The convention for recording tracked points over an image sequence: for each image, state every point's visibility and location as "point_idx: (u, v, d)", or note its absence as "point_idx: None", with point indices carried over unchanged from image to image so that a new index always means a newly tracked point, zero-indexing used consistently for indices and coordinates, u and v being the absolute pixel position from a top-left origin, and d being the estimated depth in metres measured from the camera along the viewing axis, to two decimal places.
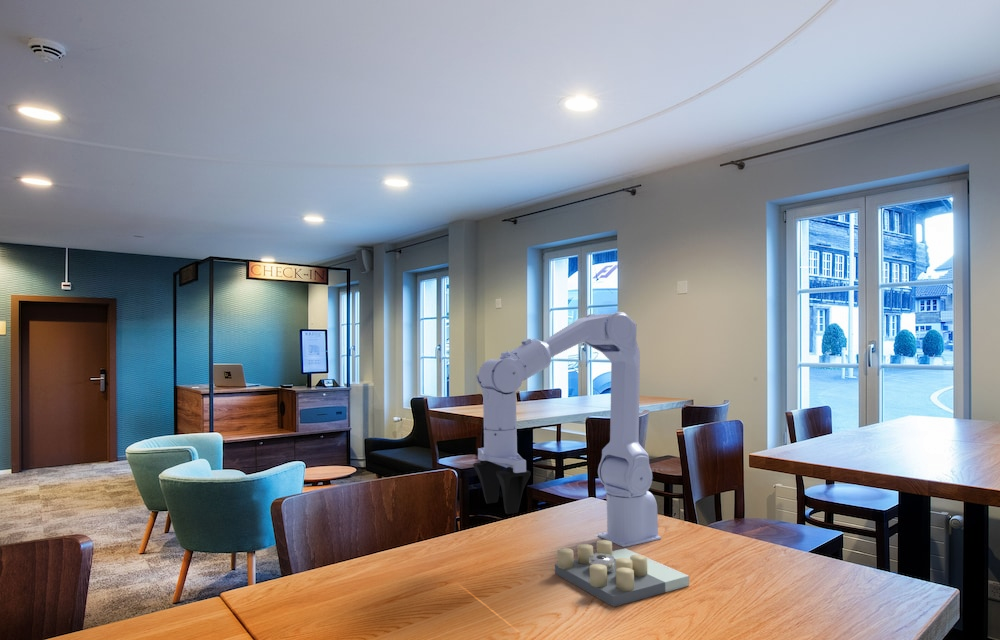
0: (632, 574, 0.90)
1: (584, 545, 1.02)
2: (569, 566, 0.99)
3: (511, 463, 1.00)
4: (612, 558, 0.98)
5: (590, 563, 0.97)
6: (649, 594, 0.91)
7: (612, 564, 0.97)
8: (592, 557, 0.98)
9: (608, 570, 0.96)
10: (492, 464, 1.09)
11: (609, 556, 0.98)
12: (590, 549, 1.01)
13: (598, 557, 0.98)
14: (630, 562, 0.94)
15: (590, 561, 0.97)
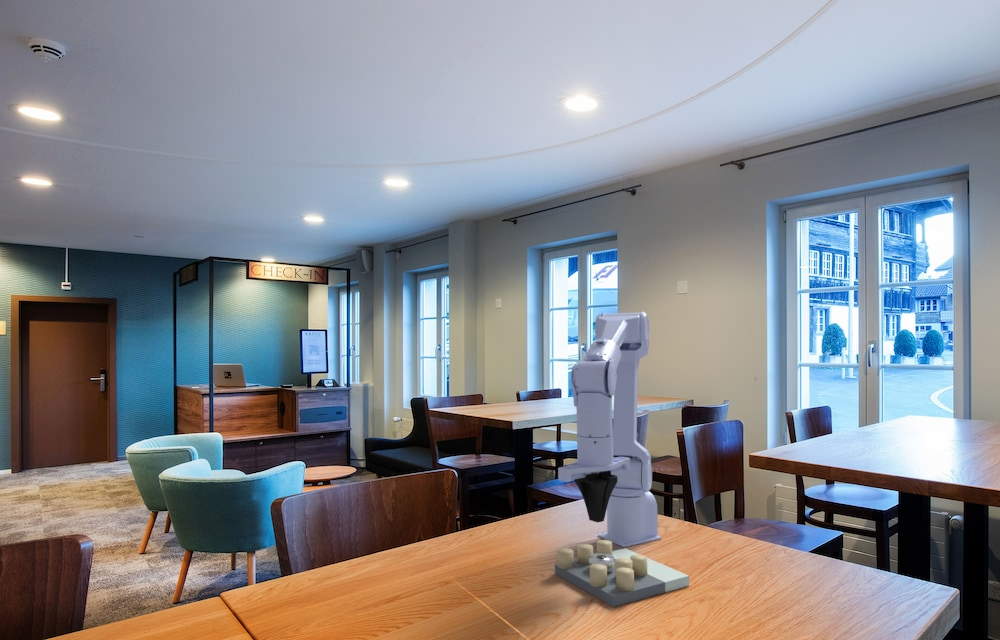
0: (632, 574, 0.90)
1: (584, 545, 1.02)
2: (569, 566, 0.99)
3: None
4: (612, 558, 0.98)
5: (590, 563, 0.97)
6: (649, 594, 0.91)
7: (612, 564, 0.97)
8: (592, 557, 0.98)
9: (608, 570, 0.96)
10: None
11: (609, 556, 0.98)
12: (590, 549, 1.01)
13: (598, 557, 0.98)
14: (630, 562, 0.94)
15: (590, 561, 0.97)
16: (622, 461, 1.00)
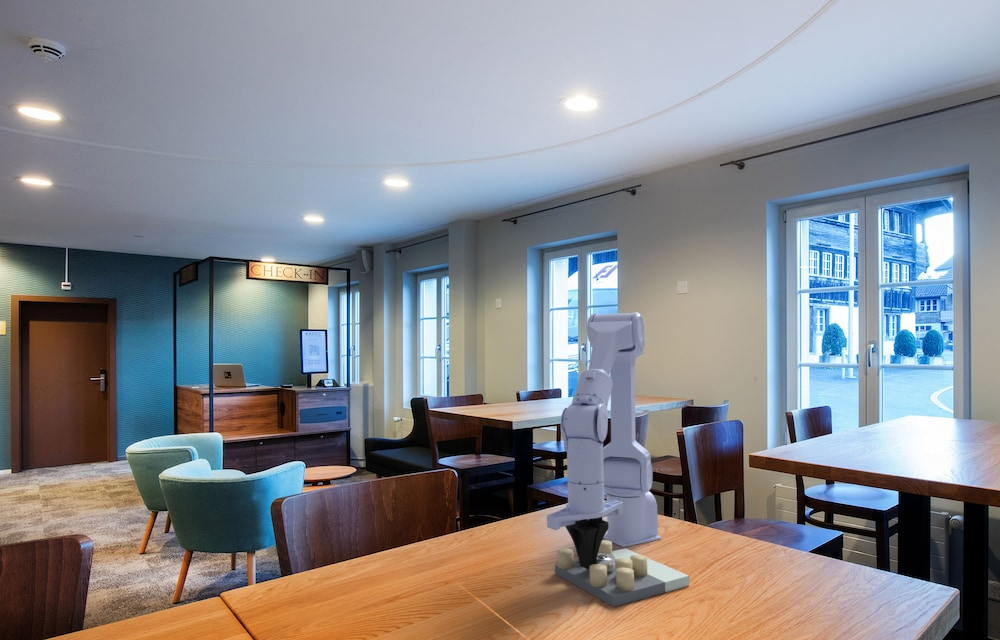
0: (632, 574, 0.90)
1: None
2: (569, 566, 0.99)
3: None
4: (613, 558, 0.98)
5: None
6: (649, 594, 0.91)
7: (613, 564, 0.97)
8: None
9: (609, 570, 0.96)
10: None
11: (610, 556, 0.99)
12: None
13: (598, 556, 0.98)
14: (630, 562, 0.94)
15: None
16: (614, 506, 0.99)
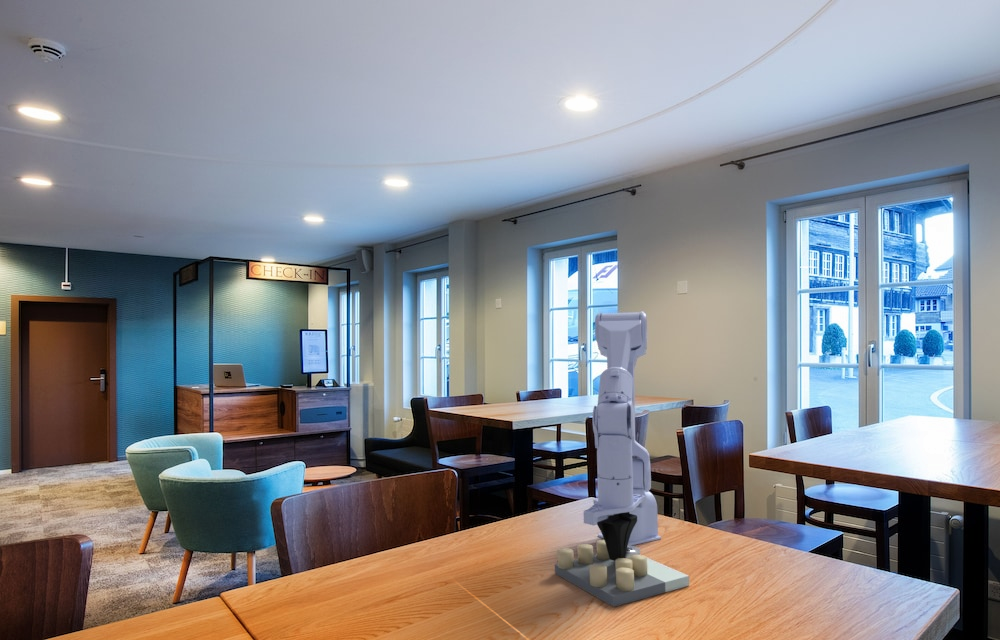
0: (632, 574, 0.90)
1: (584, 545, 1.02)
2: (569, 566, 0.99)
3: None
4: (638, 550, 1.01)
5: None
6: (649, 594, 0.91)
7: None
8: None
9: None
10: None
11: (634, 548, 1.02)
12: (590, 549, 1.01)
13: None
14: (630, 562, 0.94)
15: None
16: (639, 500, 1.02)
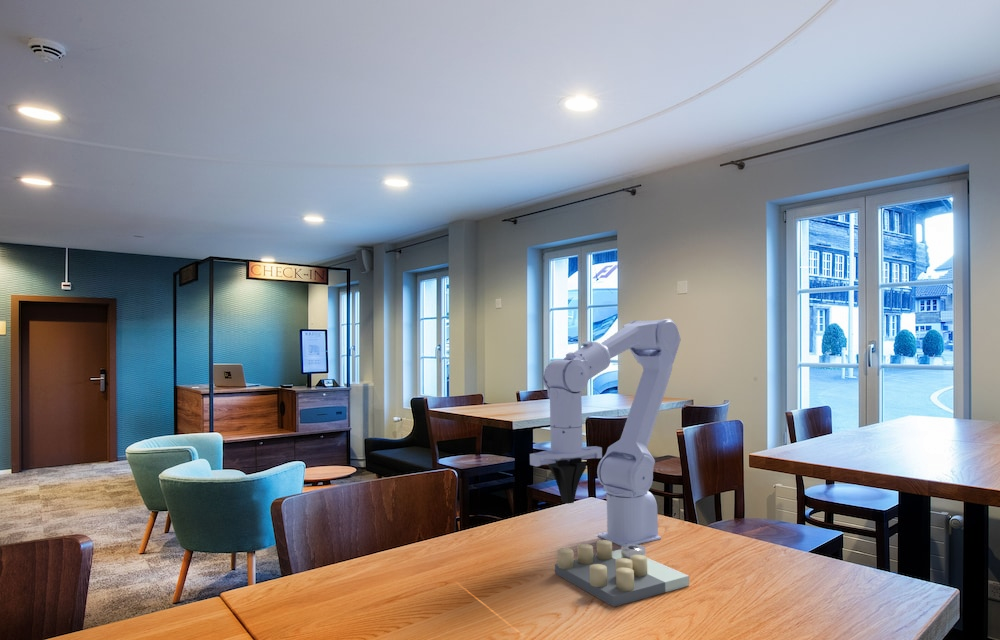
0: (632, 574, 0.90)
1: (584, 545, 1.02)
2: (569, 566, 0.99)
3: None
4: (643, 548, 1.02)
5: (623, 554, 1.01)
6: (649, 594, 0.91)
7: (644, 554, 1.01)
8: (624, 548, 1.02)
9: None
10: None
11: (640, 546, 1.03)
12: (590, 549, 1.01)
13: (630, 547, 1.02)
14: (630, 562, 0.94)
15: (623, 552, 1.01)
16: (592, 450, 1.11)
